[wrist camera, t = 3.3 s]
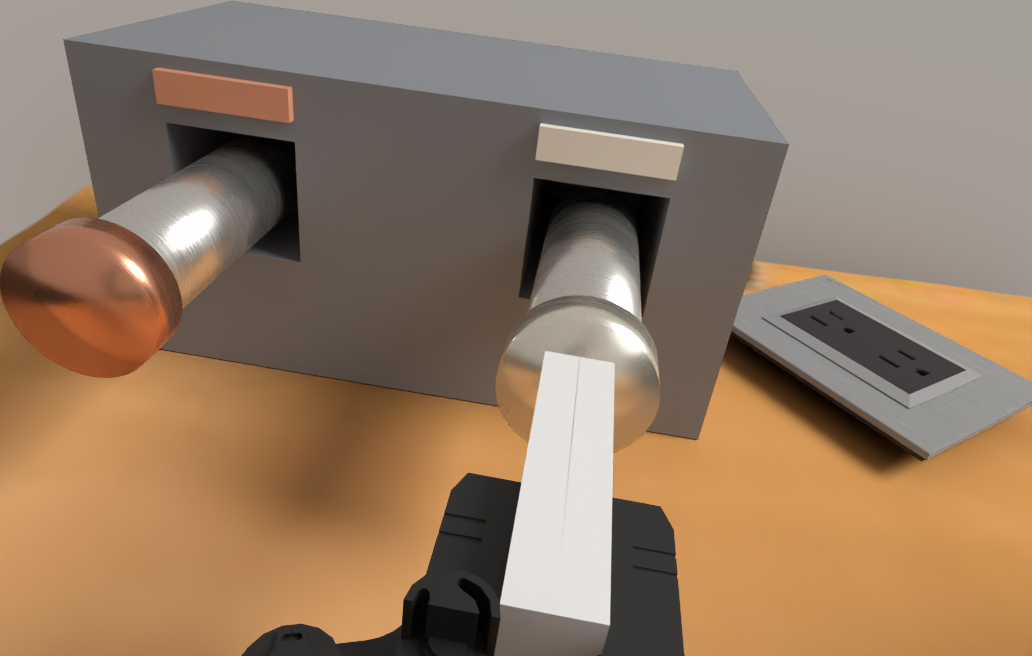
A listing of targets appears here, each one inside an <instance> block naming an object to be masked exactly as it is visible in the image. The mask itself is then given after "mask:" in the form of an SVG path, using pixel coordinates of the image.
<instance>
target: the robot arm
mask: <svg viewBox="0 0 1032 656" xmlns="http://www.w3.org/2000/svg"><path fill="white" fill-rule="evenodd" d="M614 375H615V363H612V362H606V361H600V360H595V359H589V358H583V357H578V356H572V355H566V354H561V353H555V352H549V351H545V355H544V360H543V366H542V371H541V377H540V382H539V388H538V394H537V399H536V405H535V410H534V416H533V422H532V427H531V433H530V438H529V444H528V449H527V455H526V461H525V466H524V472H523V477H522V483H521V482H516V481H510V480H505V479H499V478H494V477H489V476H483V475H478V474H472V473H468V474H467V475H466V476H465V477H464V478H463V479H462V480H461V481H460V482H459V483H458V484H457V485H456V486H455V487H454V488H453V489H452V490H451V493H450V496H449V499H448V503H447V506H446V509H445V513H444V517H443V520H442V523H441V526H440V530H439V534H438V536H437V540H436V543H435V546H434V550H433V553H432V556H431V560H430V563H429V566H428V570H427V573H426V575H425V576H424V577H422V578H421V579H420V580H418V581H417V582H416V583H414V584H413V585H412V586H411V588H410V590H409V591H408V593H407V595H406V596H405V598H404V602H403V617H402V625H401V626H400V627H399V628H397V629H396V630H395V631H393V632H391V633H389V634H386V635H384V636H382V637H380V638H375V639H371V640H366V641H358V642H349V643H340V644H335V642H334V640H333V638H332V637H331V636H329V635H328V634H326V633H325V632H324V631H322V630H321V629H320V628H317V627H313V626H308V625H304V624H295V625H286V626H281V627H278V628H276V629H274V630H272V631H269V632H267V633H265V634H263V635H262V636H261V637H260V638H258V639H257V640H256V641H255V642H254V643H253V644H252V645H250V646H249V647H248V648H247V650H246V651H245V652H244V653H243V654H242V656H685V655H684V648H683V636H682V624H681V612H680V600H679V588H678V579H677V564H676V559H675V555H676V552H675V540H674V530H673V528H672V526H671V524H670V522H669V521H668V519H667V517H666V515H665V514H664V512H663V510H662V508H661V507H660V506H655V505H649V504H644V503H639V502H633V501H628V500H622V499H617V498H612V486H613V431H614Z"/></svg>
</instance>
